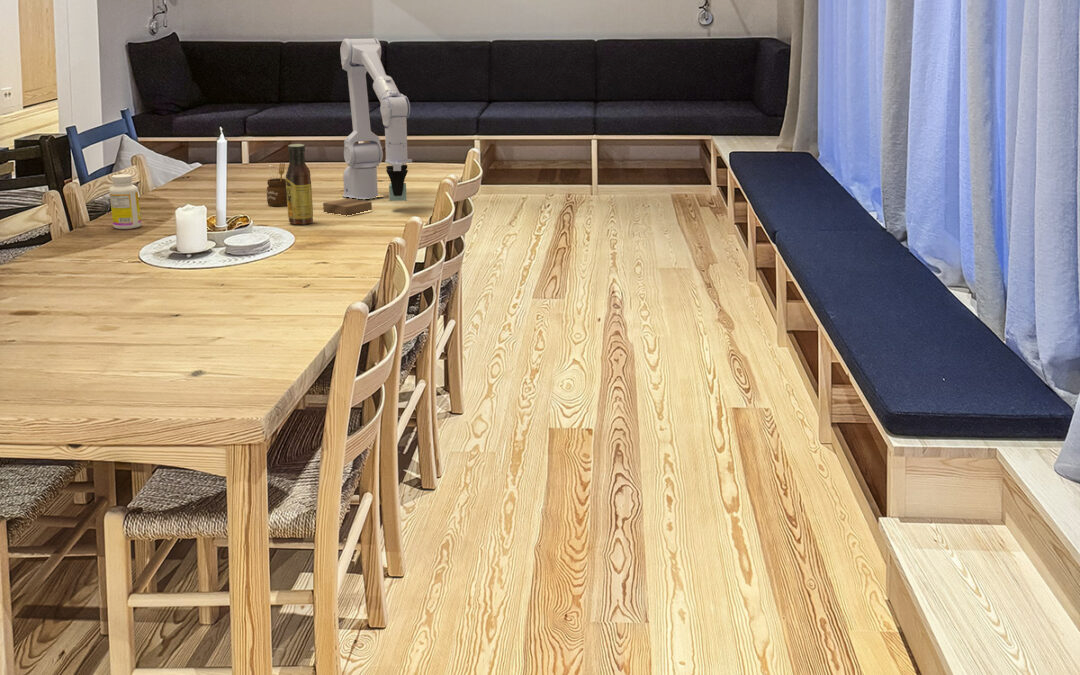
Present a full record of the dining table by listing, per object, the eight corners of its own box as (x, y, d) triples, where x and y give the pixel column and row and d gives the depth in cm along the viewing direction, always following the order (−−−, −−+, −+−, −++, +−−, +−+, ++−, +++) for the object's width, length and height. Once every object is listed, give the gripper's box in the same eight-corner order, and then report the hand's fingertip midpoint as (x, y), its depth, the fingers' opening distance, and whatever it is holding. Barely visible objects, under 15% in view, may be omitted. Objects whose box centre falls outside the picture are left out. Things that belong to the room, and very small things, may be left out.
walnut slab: (323, 214, 296) (323, 202, 295) (348, 209, 303) (348, 198, 302) (347, 218, 290) (346, 206, 290) (371, 213, 297) (371, 202, 296)
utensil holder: (281, 202, 309) (279, 159, 306) (294, 205, 305) (291, 161, 302) (263, 205, 305) (260, 161, 302) (275, 208, 301) (272, 163, 298)
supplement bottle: (130, 223, 280) (125, 172, 277) (147, 226, 277) (142, 175, 273) (107, 227, 275) (101, 175, 271) (124, 230, 272) (118, 178, 268)
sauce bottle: (290, 220, 284) (285, 142, 278) (314, 220, 285) (310, 142, 279) (286, 226, 278) (281, 146, 272) (312, 225, 279) (307, 146, 273)
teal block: (389, 201, 296) (389, 186, 294) (389, 197, 300) (389, 183, 299) (406, 200, 296) (406, 185, 295) (406, 197, 300) (405, 183, 299)
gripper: (412, 146, 287) (413, 198, 291) (410, 139, 301) (412, 189, 305) (384, 146, 286) (386, 199, 290) (384, 139, 300) (386, 189, 304)
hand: (397, 193), depth 297 cm, fingers closed on teal block, 4 cm apart
